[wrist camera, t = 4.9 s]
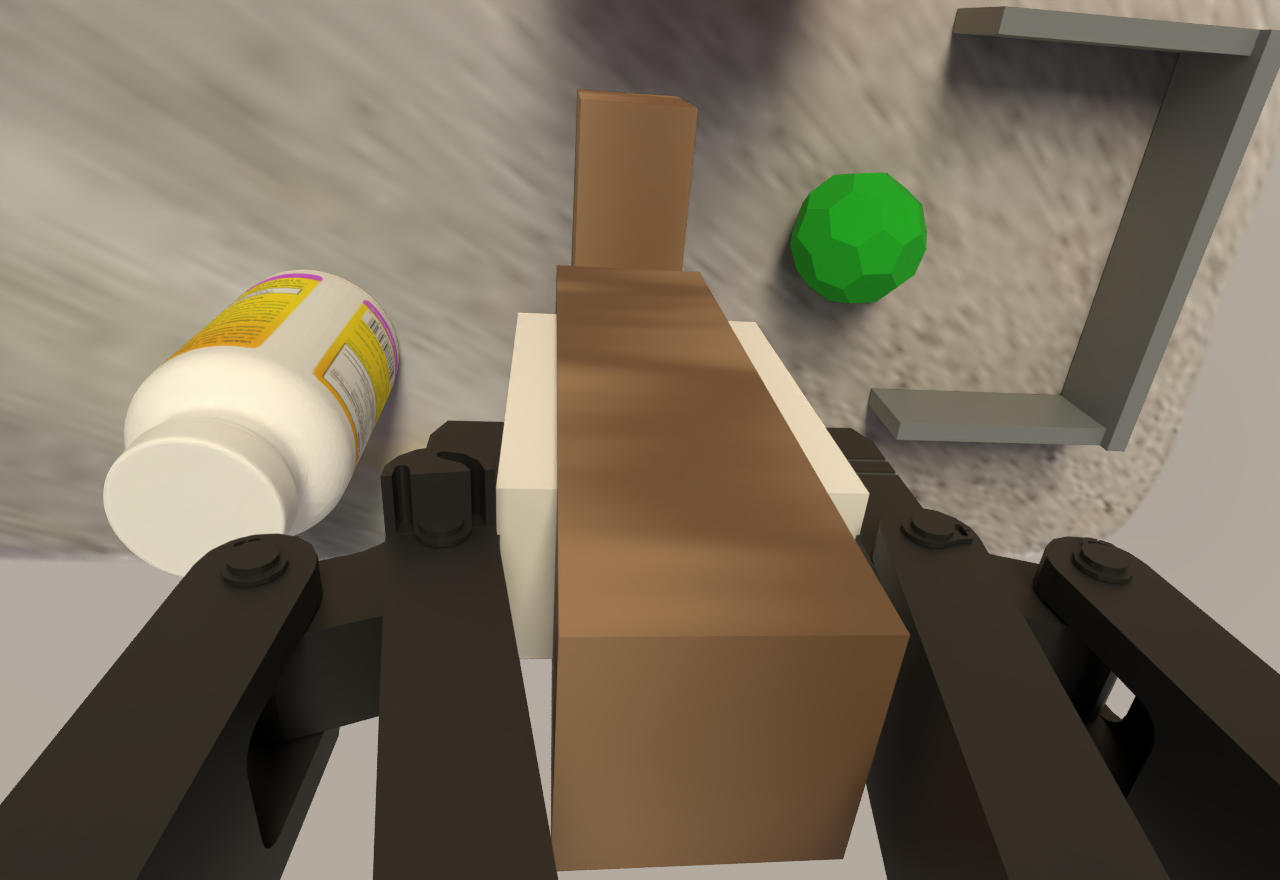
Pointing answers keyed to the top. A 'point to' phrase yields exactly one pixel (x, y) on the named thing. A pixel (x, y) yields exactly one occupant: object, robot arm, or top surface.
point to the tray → (1122, 233)
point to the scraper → (691, 553)
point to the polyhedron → (858, 237)
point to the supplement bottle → (253, 420)
